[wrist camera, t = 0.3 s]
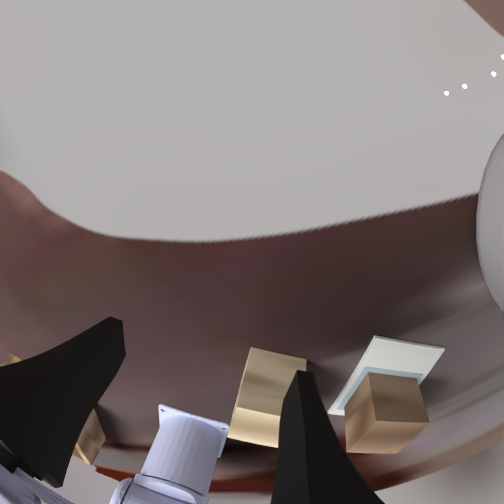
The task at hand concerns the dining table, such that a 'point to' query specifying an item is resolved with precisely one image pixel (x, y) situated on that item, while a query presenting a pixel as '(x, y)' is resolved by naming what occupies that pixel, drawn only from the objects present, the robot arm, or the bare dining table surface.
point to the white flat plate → (389, 364)
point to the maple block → (263, 396)
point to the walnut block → (384, 414)
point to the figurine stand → (89, 436)
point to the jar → (492, 222)
